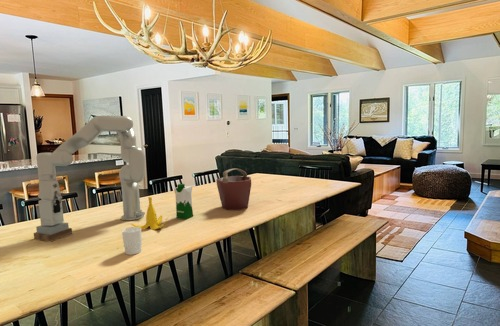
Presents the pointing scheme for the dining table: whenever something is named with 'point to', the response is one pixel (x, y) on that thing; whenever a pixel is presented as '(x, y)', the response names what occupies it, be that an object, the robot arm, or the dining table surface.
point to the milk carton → (183, 201)
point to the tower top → (52, 228)
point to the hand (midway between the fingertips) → (51, 211)
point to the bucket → (234, 190)
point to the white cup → (132, 240)
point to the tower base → (52, 237)
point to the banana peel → (151, 218)
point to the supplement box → (49, 213)
